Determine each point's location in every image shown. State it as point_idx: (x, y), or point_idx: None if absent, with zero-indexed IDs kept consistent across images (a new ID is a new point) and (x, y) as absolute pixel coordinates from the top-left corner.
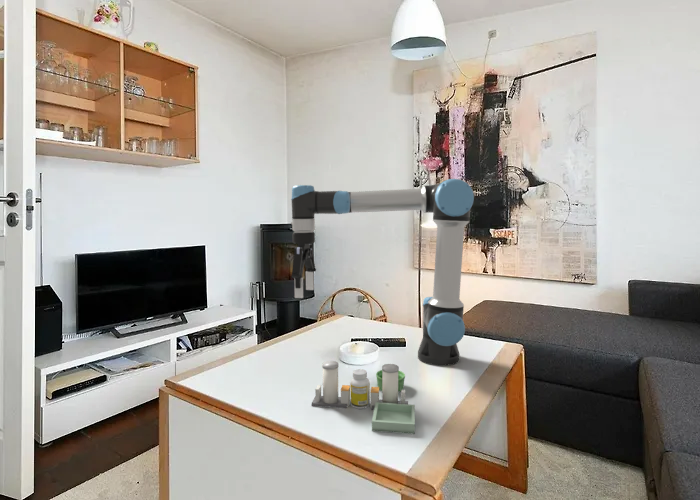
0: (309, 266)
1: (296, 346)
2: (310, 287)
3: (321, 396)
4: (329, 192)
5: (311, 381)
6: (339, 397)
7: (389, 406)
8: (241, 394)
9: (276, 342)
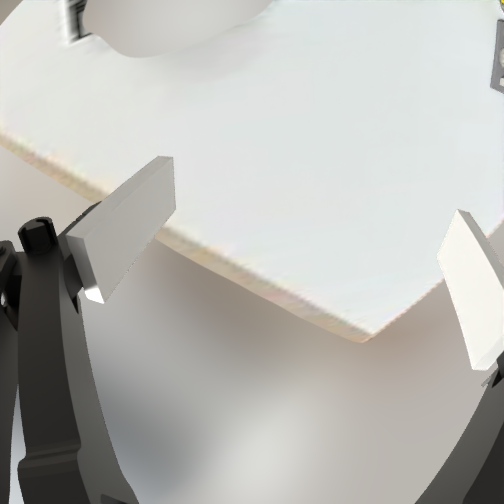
0: (71, 321)
1: None
2: (165, 186)
3: (497, 76)
4: None
5: (407, 89)
6: (501, 40)
7: None
8: None
9: None
